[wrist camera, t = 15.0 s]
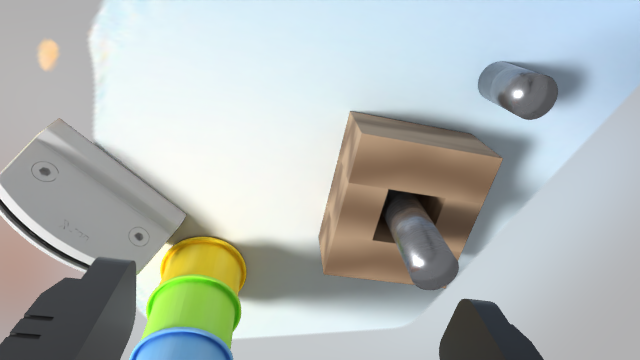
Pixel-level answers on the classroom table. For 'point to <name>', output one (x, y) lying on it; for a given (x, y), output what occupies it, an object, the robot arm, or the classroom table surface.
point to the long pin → (419, 241)
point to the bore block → (402, 175)
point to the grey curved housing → (83, 202)
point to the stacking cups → (194, 303)
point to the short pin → (518, 89)
